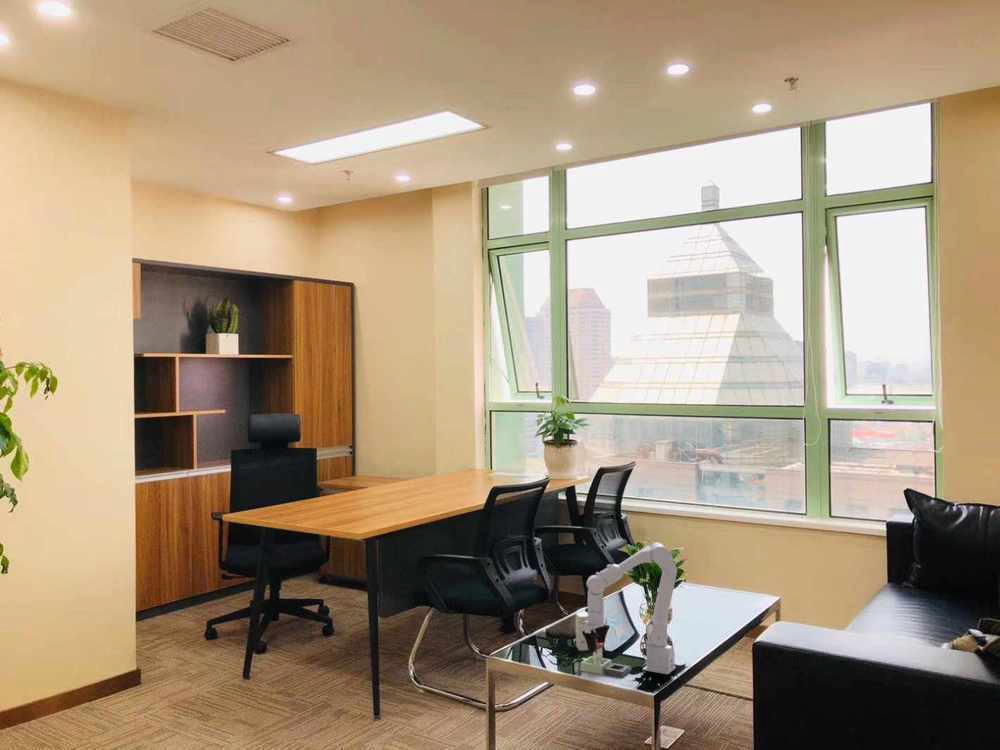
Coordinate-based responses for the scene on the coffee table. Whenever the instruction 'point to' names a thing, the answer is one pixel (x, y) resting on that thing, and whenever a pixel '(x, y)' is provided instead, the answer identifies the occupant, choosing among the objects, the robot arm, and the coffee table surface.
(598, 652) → the lock pin
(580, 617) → the small box
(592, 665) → the tray
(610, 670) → the block
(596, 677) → the coffee table surface
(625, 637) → the coffee table surface
